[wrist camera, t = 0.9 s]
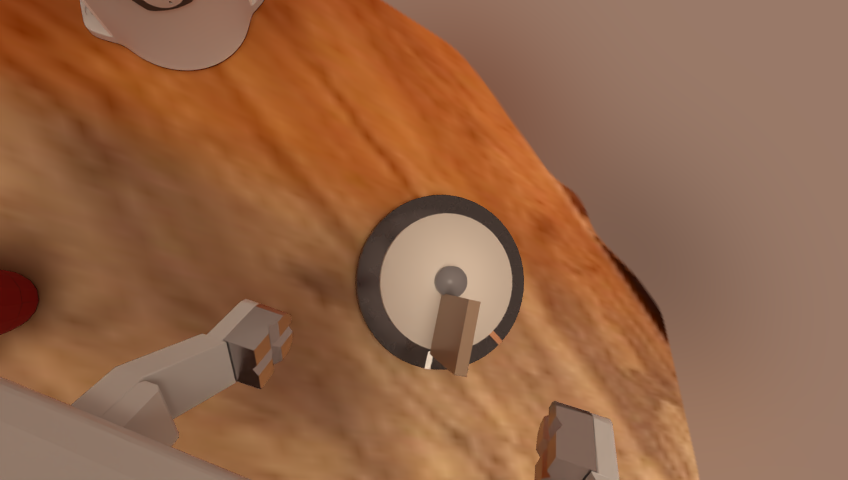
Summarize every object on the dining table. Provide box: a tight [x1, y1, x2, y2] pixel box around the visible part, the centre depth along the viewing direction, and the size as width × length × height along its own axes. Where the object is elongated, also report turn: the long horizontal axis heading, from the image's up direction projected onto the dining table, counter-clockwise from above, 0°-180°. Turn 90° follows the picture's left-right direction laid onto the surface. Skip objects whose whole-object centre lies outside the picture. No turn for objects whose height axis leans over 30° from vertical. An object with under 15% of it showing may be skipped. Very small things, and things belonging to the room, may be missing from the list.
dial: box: [379, 213, 512, 377], centre depth 42 cm, size 16×16×10 cm
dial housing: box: [356, 195, 524, 369], centre depth 49 cm, size 21×21×2 cm
